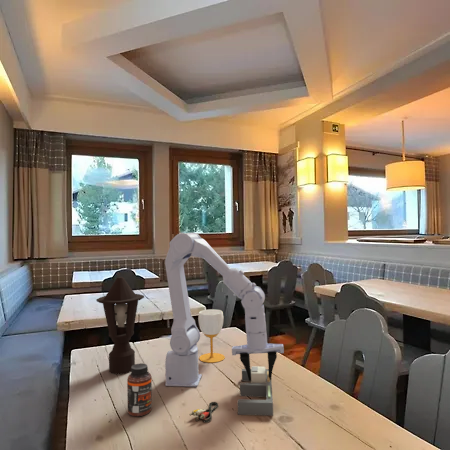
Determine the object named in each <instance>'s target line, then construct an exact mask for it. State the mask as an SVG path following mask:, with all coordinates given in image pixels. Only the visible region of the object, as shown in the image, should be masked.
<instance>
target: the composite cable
mask: <svg viewBox="0 0 450 450" xmlns="http://www.w3.org/2000/svg"><path fill="white" fill-rule="evenodd" d="M213 406H214V407H213ZM212 407H213V408H212ZM218 407H219V403H218V402H217V401H211V402H209V404H208V408H207V409H203V408H201V409H199V408H198V409H194V410H192V411H191V413H189V416H196V418H195V421H196V422H198V421H199V420H200V421H201V420H202V421H203V422H204V423H209V422H211V421H212V414H213V413H214V411H216V410H217V409H218ZM208 416H209V417H208ZM207 417H208V418H207Z"/></svg>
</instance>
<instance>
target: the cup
mask: <svg viewBox="0 0 450 450" xmlns="http://www.w3.org/2000/svg"><path fill="white" fill-rule="evenodd" d="M197 319H198V320H197V321H198V326H199V329H200V332H201V333H202V335H204V336H205V337H206V338H209V340H210V341H209V342H210V352H209V353H207V352H206V353H204V354H200V356H198V361H200V362H203V363H208V364H215V363H220V362H222V361H224V360H225V358H226V357H225V355H224V354H222V353H218V352H214V345H213V344H214V343H213V342H214V341H213V340H214V338H215V337H217V336H218V335H219V334H220V333H221V331H222V329H223V325H224V313H223V311H222V310H221V309H213V308H212V309H211V308H210V309H203V310H200V311H199V312H198V318H197Z"/></svg>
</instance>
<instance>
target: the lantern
mask: <svg viewBox="0 0 450 450" xmlns="http://www.w3.org/2000/svg"><path fill="white" fill-rule="evenodd" d="M144 298H145V296H144V295H143V294H139V293H135V292H134V290H133V289H132V288H131V286H130V285H129V283H128V281H126V279H125V277H123V276H117V277H116V279H115V281H114V282H113V284H111V287H110V289H109V290H108V292H107V293H106V295H104V296H100V297H99V298H96V299H95V300H96V302H97V303H99V304H102V305H103V307H102V308H103V311H104V316H105V321H106V325H107V329H108V337H109V339H111V341H112V342H113V346H112V348H111V349H112V350H111V351H110V352H108V366H109V367H108V371H109V373H110V374H112V375H123V374H124V375H125V374H128V373H131V367H132V366H133V365H135V364H136V359H135V357H136V354H135V349H133V348H132V346H131V343H130V341H131V339H132V338H131V337H132V336H133V335H135V331H134V329H135V325H136V323H135V322H136V317H137V312H138V304H139V301H141V300H142V299H144Z"/></svg>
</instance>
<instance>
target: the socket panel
mask: <svg viewBox="0 0 450 450" xmlns="http://www.w3.org/2000/svg"><path fill="white" fill-rule="evenodd" d="M265 370H266V383H251V382H250V381H249V378H248V374H247V372H246V369H245V368H242V369H241V381H242V382H239V397H253V398H255V397H259V398H260V397H261V398H263V397H264V398H266V399H248V398H247V399H245V398H244V399H241V398H237V415H239V416H240V415H241V416H243V415H245V416H274V401H273V400H274V397H273V388H272V387H273V385H272V378H271V379H270V377H269V368H265Z"/></svg>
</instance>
